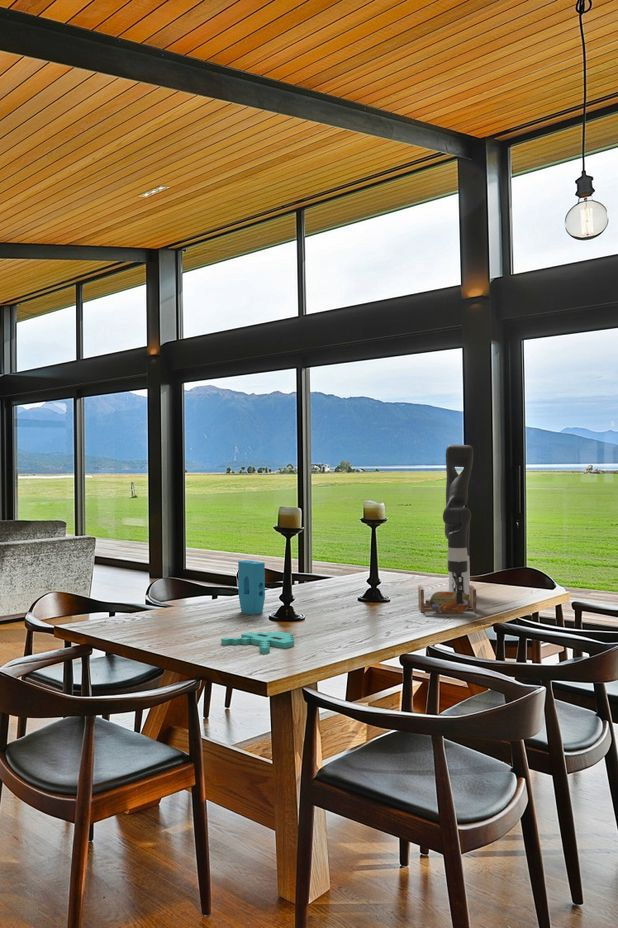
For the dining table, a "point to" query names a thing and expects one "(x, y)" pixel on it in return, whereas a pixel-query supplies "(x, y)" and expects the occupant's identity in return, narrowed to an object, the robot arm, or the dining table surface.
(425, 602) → the offcut oak
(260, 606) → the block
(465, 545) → the robot arm
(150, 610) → the dining table surface
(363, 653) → the dining table surface
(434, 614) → the felt mat
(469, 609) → the rack
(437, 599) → the tin
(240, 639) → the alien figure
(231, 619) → the dining table surface
